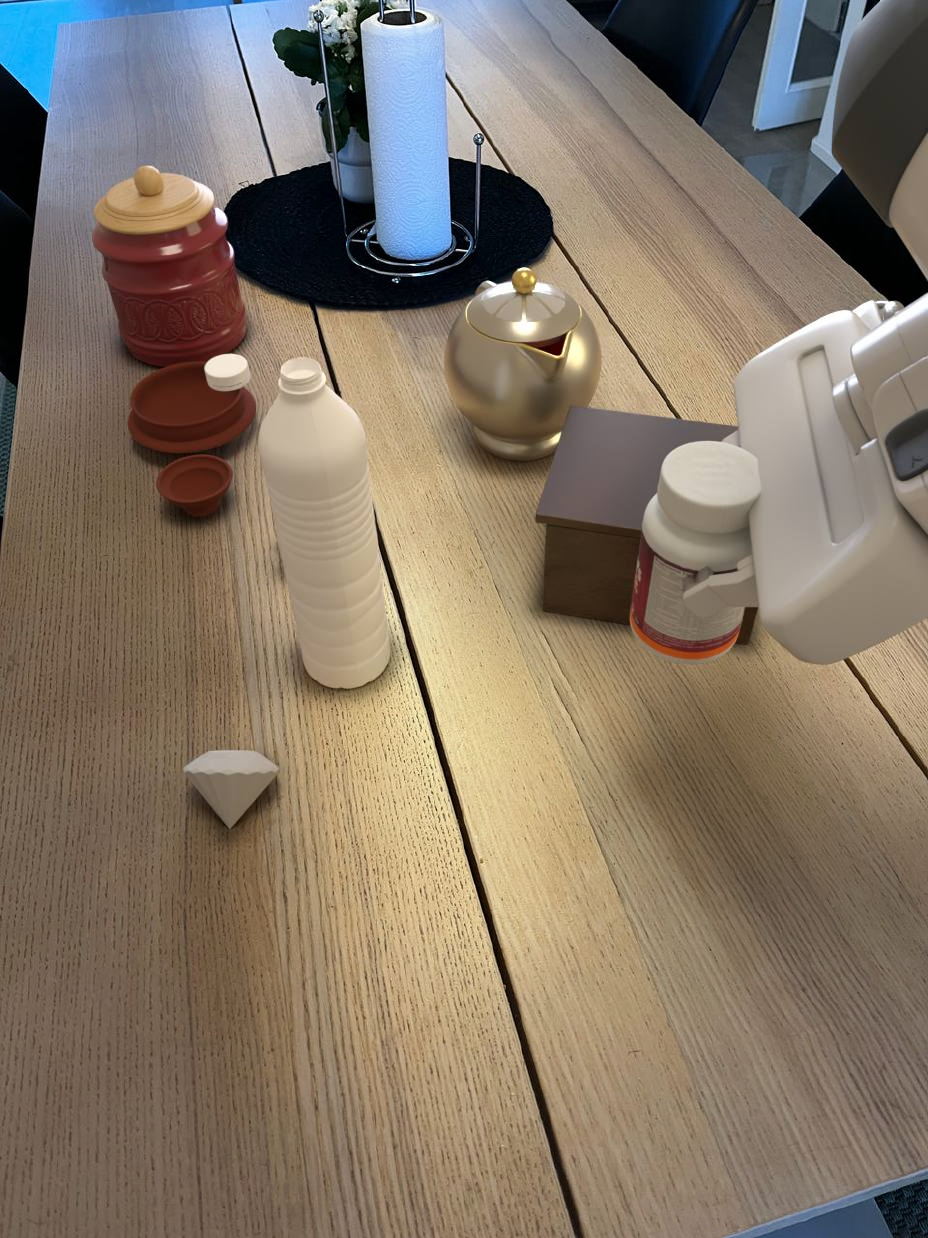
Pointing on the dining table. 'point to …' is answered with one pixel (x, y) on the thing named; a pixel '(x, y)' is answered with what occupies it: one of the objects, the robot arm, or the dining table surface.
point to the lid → (613, 467)
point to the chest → (598, 576)
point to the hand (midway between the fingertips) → (686, 551)
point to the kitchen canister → (169, 269)
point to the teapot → (521, 364)
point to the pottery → (189, 431)
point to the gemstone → (231, 780)
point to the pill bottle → (693, 548)
